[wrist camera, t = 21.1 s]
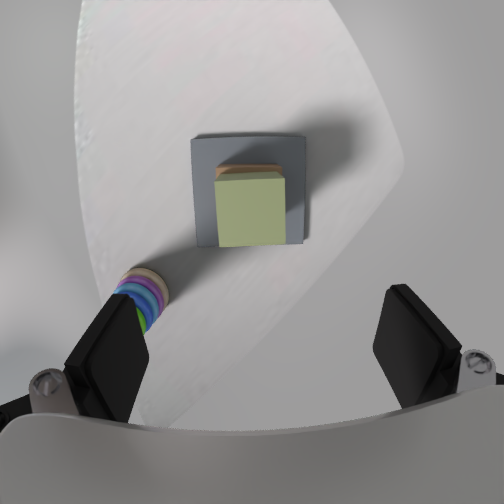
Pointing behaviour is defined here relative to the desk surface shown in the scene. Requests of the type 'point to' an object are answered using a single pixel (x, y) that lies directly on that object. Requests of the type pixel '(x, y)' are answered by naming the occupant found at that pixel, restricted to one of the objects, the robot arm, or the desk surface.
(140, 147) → the desk surface
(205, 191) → the baseplate
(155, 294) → the stacking toy
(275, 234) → the olive block
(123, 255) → the desk surface
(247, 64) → the desk surface
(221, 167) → the walnut block
